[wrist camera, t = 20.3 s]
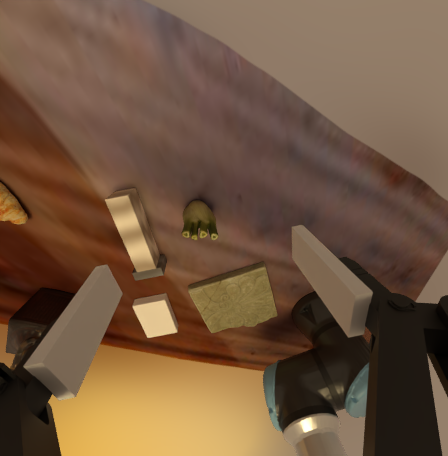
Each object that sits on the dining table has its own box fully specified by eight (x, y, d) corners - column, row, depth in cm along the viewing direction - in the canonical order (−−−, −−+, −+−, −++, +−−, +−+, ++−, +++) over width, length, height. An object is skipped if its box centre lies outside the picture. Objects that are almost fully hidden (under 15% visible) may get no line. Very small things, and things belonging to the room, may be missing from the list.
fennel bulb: (216, 208, 44) (222, 234, 33) (203, 225, 45) (205, 256, 35) (192, 193, 42) (191, 216, 31) (180, 212, 43) (174, 240, 33)
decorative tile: (187, 283, 52) (186, 293, 49) (263, 259, 52) (267, 268, 49) (211, 329, 61) (211, 340, 58) (276, 309, 60) (280, 319, 57)
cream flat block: (166, 292, 53) (178, 323, 58) (135, 298, 53) (150, 329, 58) (164, 299, 50) (177, 332, 56) (132, 306, 50) (147, 338, 56)
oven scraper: (166, 261, 48) (163, 274, 44) (141, 266, 48) (135, 280, 44) (140, 186, 40) (133, 194, 36) (110, 192, 40) (99, 200, 36)
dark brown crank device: (83, 326, 54) (35, 410, 38) (35, 316, 51) (-39, 403, 35) (96, 283, 49) (46, 359, 33) (43, 269, 46) (-41, 346, 30)
